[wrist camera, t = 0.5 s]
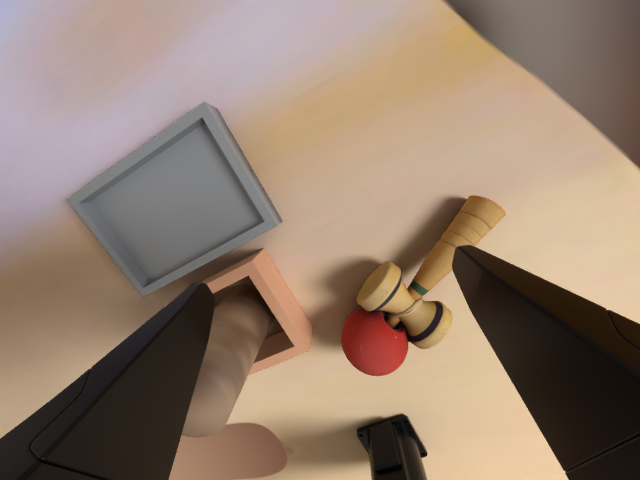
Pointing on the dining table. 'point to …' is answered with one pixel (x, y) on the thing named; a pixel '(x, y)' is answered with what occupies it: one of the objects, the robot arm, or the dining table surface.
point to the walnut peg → (227, 359)
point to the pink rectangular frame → (279, 302)
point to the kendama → (410, 298)
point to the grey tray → (176, 202)
